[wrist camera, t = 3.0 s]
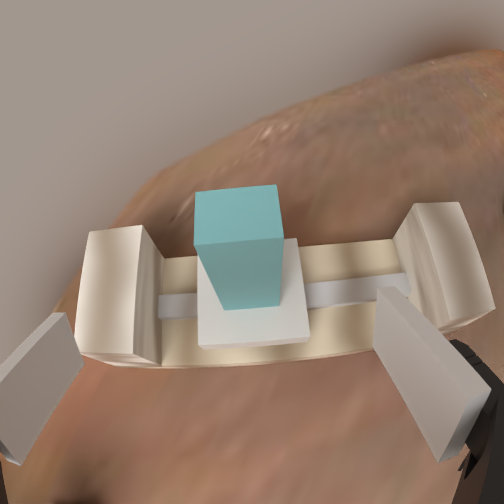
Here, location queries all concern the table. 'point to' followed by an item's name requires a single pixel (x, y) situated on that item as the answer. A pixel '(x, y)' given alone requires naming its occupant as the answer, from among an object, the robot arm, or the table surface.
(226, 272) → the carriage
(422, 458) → the table surface
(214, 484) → the table surface
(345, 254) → the rail board
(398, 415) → the table surface
